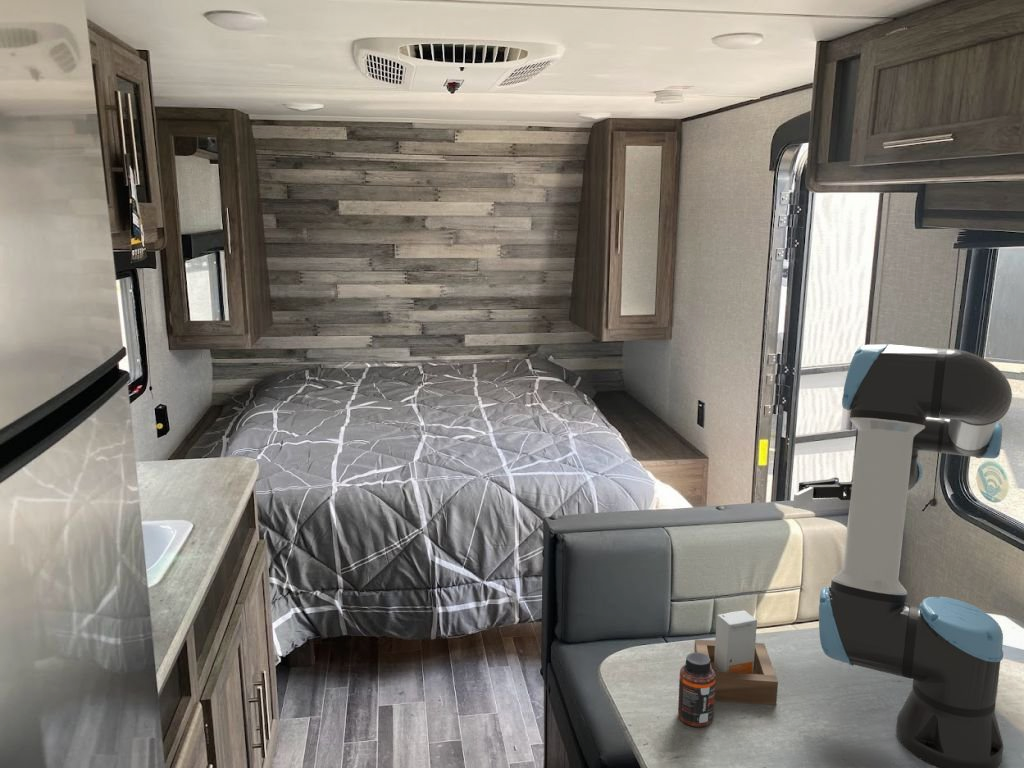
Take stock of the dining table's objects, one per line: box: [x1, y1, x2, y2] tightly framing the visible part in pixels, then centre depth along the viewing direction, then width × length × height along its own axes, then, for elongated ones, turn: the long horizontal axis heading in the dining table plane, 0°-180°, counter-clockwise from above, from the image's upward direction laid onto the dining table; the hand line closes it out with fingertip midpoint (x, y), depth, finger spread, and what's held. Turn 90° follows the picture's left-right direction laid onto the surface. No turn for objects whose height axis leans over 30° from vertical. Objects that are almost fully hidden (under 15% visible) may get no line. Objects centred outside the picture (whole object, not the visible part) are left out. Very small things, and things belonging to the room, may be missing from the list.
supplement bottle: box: [677, 652, 715, 728], centre depth 134 cm, size 6×6×11 cm
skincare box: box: [714, 609, 758, 674], centre depth 144 cm, size 6×4×12 cm
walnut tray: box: [693, 638, 779, 706], centre depth 145 cm, size 13×13×4 cm
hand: (828, 510), depth 148 cm, fingers open, 13 cm apart
